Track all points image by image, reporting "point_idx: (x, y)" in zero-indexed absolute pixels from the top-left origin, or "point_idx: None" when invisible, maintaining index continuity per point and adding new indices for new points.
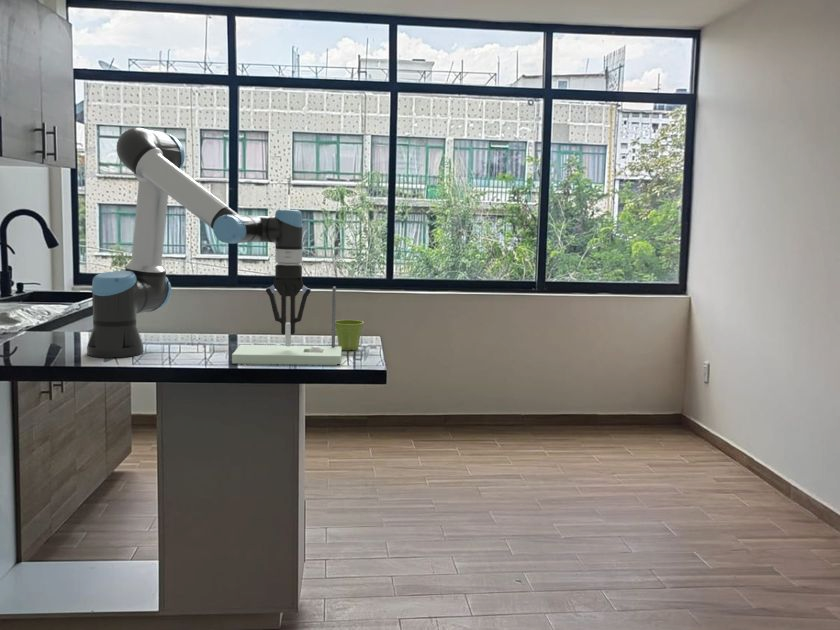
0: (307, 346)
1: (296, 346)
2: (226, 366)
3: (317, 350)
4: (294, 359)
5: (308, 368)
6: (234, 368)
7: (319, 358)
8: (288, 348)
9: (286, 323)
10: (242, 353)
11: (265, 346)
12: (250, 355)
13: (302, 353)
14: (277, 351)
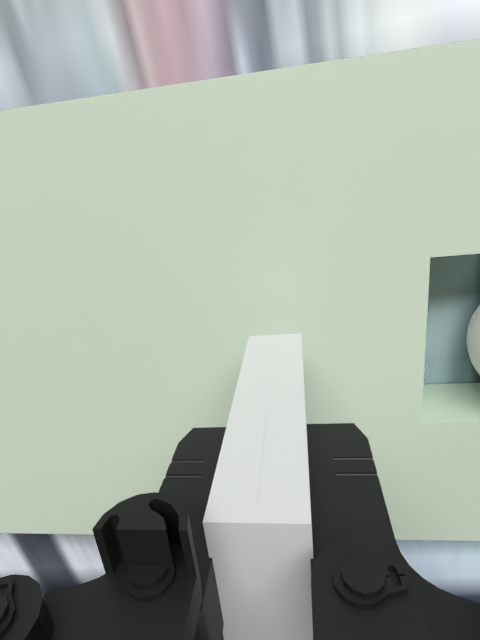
0: (467, 89)
1: (333, 121)
2: (10, 551)
3: None
4: None
5: (443, 578)
6: (66, 586)
7: None
8: (267, 264)
9: (232, 598)
10: (2, 502)
11: (28, 194)
12: (68, 529)
13: (417, 470)
14: (204, 415)
